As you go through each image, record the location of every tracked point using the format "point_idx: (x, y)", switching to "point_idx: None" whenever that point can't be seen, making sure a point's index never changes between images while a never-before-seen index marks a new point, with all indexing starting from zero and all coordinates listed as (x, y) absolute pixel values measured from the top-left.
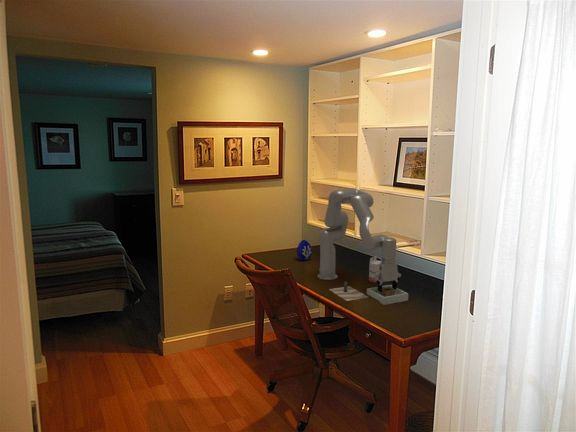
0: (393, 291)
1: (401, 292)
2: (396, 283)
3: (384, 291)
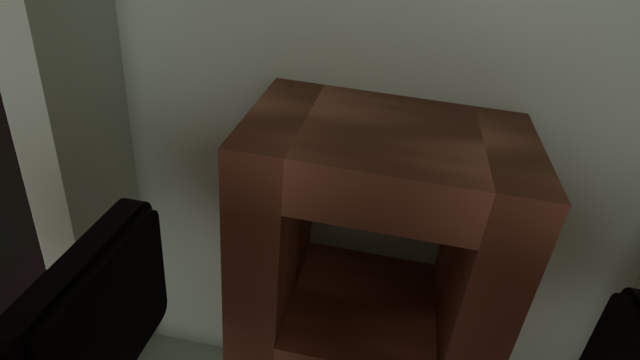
0: (286, 143)
1: (63, 67)
2: (13, 319)
3: (541, 262)
